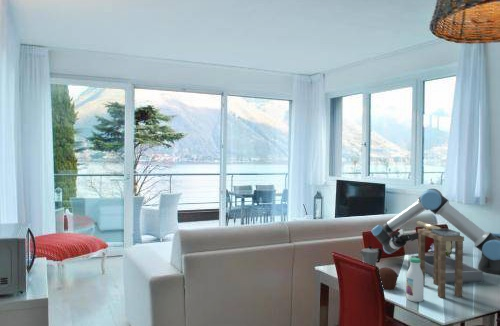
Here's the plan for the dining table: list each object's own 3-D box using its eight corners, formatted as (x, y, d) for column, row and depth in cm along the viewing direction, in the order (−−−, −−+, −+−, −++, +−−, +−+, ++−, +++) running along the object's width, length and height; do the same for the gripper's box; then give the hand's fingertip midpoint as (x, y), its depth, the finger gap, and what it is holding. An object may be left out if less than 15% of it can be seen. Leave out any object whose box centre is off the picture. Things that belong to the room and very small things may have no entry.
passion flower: (436, 264, 266) (425, 250, 267) (436, 258, 275) (426, 244, 277) (452, 257, 261) (440, 242, 262) (451, 251, 270) (440, 236, 271)
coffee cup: (454, 253, 276) (454, 236, 275) (440, 252, 277) (440, 236, 277) (450, 250, 285) (450, 233, 284) (436, 249, 287) (436, 233, 286)
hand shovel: (411, 226, 219) (411, 221, 219) (426, 225, 220) (426, 220, 220) (442, 236, 190) (443, 231, 190) (459, 236, 191) (460, 230, 191)
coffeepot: (365, 280, 216) (366, 248, 216) (355, 275, 225) (355, 244, 225) (387, 276, 222) (387, 245, 222) (376, 272, 231) (376, 242, 231)
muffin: (370, 284, 209) (370, 266, 209) (387, 282, 213) (387, 264, 212) (385, 292, 198) (385, 272, 197) (402, 289, 202) (403, 270, 201)
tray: (411, 265, 245) (411, 255, 245) (443, 264, 248) (443, 254, 248) (445, 283, 211) (445, 272, 210) (482, 282, 213) (482, 271, 213)
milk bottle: (422, 297, 190) (423, 257, 190) (424, 303, 183) (424, 261, 183) (405, 295, 193) (406, 255, 192) (406, 301, 186) (407, 259, 185)
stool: (417, 283, 210) (417, 229, 210) (437, 283, 212) (438, 228, 211) (440, 298, 189) (441, 237, 189) (463, 297, 191) (464, 236, 190)
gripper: (418, 247, 243) (435, 236, 224) (380, 248, 240) (395, 237, 221) (415, 235, 246) (432, 224, 228) (377, 236, 243) (392, 225, 225)
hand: (413, 230), depth 224 cm, fingers open, 13 cm apart
